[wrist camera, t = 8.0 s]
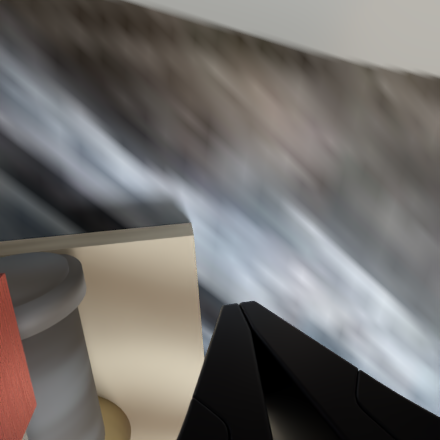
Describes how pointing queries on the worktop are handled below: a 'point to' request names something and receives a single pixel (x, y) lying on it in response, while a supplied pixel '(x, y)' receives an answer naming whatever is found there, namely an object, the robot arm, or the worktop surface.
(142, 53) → the worktop surface
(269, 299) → the worktop surface
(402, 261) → the worktop surface
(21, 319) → the valve board
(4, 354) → the valve lever
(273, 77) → the worktop surface
